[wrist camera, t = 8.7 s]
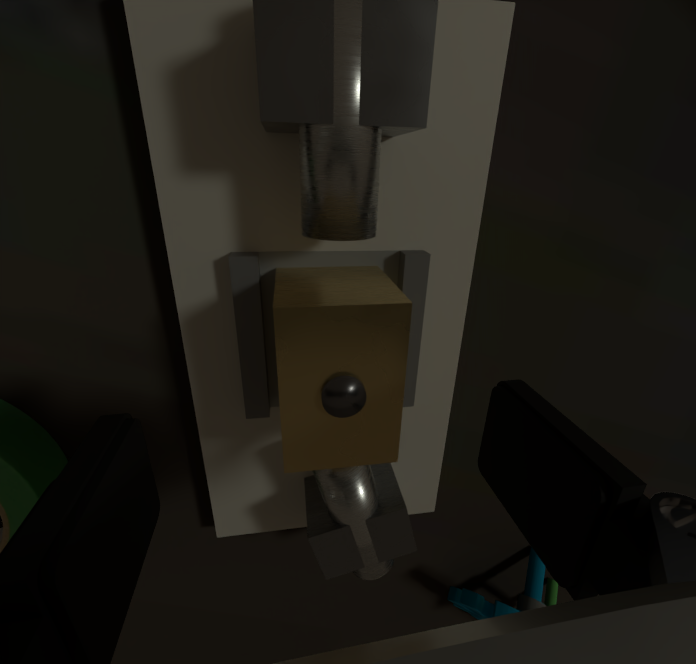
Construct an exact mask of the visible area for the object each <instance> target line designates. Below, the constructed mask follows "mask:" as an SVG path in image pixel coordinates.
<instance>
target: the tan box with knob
mask: <svg viewBox="0 0 696 664" xmlns="http://www.w3.org/2000/svg"><path fill="white" fill-rule="evenodd" d="M411 313H412V302H411V301H410V300H409V299H408V298H407V297H406V295H405V294H404V293H403V292H402V291H401V290H400V289H399V288H398V287H397V286H396V285H395V284H394V283H393V282H392V281H391V279H390V278H389V277H388V276H387V275H386V274H385V273H384V272H383V271H382V270H381V269H380V268H379V267H378V266H340V267H290V268H276V277H275V289H274V301H273V316H274V331H275V346H276V361H277V375H278V390H279V405H280V419H281V434H282V449H283V464H284V473H293V472H303V471H313V470H323V469H333V468H342V467H352V466H362V465H372V464H382V463H392V462H398V453H399V443H400V432H401V421H402V410H403V400H404V389H405V378H406V367H407V356H408V346H409V335H410V324H411Z"/></svg>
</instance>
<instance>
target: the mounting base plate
mask: <svg viewBox="0 0 696 664" xmlns="http://www.w3.org/2000/svg"><path fill="white" fill-rule="evenodd" d="M123 2H124V8H125V14H126V19H127V25H128V31H129V37H130V42H131V48H132V54H133V59H134V65H135V71H136V77H137V82H138V88H139V94H140V99H141V105H142V111H143V117H144V122H145V128H146V134H147V139H148V145H149V151H150V157H151V162H152V168H153V174H154V180H155V185H156V191H157V197H158V202H159V208H160V214H161V220H162V225H163V231H164V237H165V242H166V248H167V254H168V260H169V265H170V271H171V277H172V282H173V288H174V294H175V300H176V305H177V311H178V317H179V322H180V328H181V334H182V340H183V345H184V351H185V357H186V363H187V368H188V374H189V380H190V385H191V391H192V397H193V403H194V408H195V414H196V420H197V425H198V431H199V437H200V443H201V448H202V454H203V460H204V465H205V471H206V477H207V483H208V488H209V494H210V500H211V505H212V511H213V517H214V523H215V528H216V534H217V537H225V536H234V535H242V534H250V533H259V532H267V531H275V530H284V529H292V528H300V527H307V517H306V501H305V485H304V478H305V477H309V476H312V475H314V474H313V471H303V472H293V473H284V464H283V449H282V434H281V419H280V405H279V390H278V375H277V361H276V346H275V331H274V316H273V301H274V289H275V277H276V268H290V267H340V266H378V267H379V268H380V269H381V270H382V271H383V272H384V273H385V274H386V275H387V276H388V277H389V278H390V279H391V281H392V282H393V283H394V284H395V285H396V286H397V287H398V288H399V289H400V290H401V291H402V292H403V293H404V294H405V295H406V297H407V298H408V299H409V300H410V301H411V302H412V313H411V324H410V335H409V346H408V356H407V367H406V378H405V389H404V400H403V410H402V421H401V432H400V443H399V453H398V462H392V463H391V465H392V468H393V471H394V474H395V477H396V480H397V482H398V485H399V488H400V491H401V494H402V496H403V499H404V502H405V505H406V508H407V511H408V514H417V513H425V512H433V511H434V509H435V503H436V497H437V490H438V484H439V478H440V472H441V465H442V459H443V453H444V446H445V440H446V434H447V428H448V421H449V415H450V409H451V403H452V396H453V390H454V384H455V378H456V371H457V365H458V359H459V352H460V346H461V340H462V334H463V327H464V321H465V315H466V309H467V302H468V296H469V290H470V284H471V277H472V271H473V265H474V258H475V252H476V246H477V240H478V233H479V227H480V221H481V215H482V208H483V202H484V196H485V190H486V183H487V177H488V171H489V164H490V158H491V152H492V146H493V139H494V133H495V127H496V121H497V114H498V108H499V102H500V96H501V89H502V83H503V77H504V70H505V64H506V58H507V52H508V45H509V39H510V33H511V27H512V20H513V14H514V8H515V3H514V2H504V1H493V0H438V10H437V21H436V32H435V42H434V53H433V64H432V74H431V85H430V96H429V106H428V117H427V128H425V129H421V130H417V131H414V132H410V133H406V134H403V135H399V136H395V137H381V154H380V174H379V193H378V213H377V232H376V237H374V238H371V239H367V240H358V241H328V240H318V239H311V238H307V237H304V236H303V235H302V228H301V193H300V157H299V134H298V133H270V132H266V131H265V129H264V127H263V125H262V123H261V121H260V107H259V92H258V76H257V61H256V45H255V30H254V14H253V0H123Z"/></svg>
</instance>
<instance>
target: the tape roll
mask: <svg viewBox="0 0 696 664" xmlns="http://www.w3.org/2000/svg"><path fill="white" fill-rule="evenodd" d="M67 463H68V460H67V458H66V456H65V454H64V453H63V451H62V450H61V448H60V447H59V445H58V444H57V443H56V441H55V440H54V439H53V438H52V437H51V435H50V434H49V433H48V432H47V431H46V430H45V429H44V428H43V427H42V426H40V425H39V424H38V423H37V422H36V421H35V420H33V419H32V418H31V417H29V416H28V415H27V414H25V413H24V412H22V411H21V410H19V409H18V408H16V407H14V406H13V405H11V404H9V403H8V402H6V401H4V400H2V399H0V516H1V518H2V522H3V527H2V528H0V553H1V552H2V550H3V549H4V547H5V546H6V545H7V543H8V542H9V540H10V539H11V537H12V536H13V535H14V533H15V532H16V530H17V529H18V528H19V526H20V525H21V523H22V522H23V521H24V519H25V518H26V516H27V515H28V514H29V512H30V511H31V509H32V508H33V506H34V505H35V504H36V502H37V501H38V499H39V498H40V497H41V495H42V494H43V492H44V491H45V490H46V488H47V487H48V486H49V484H50V483H51V482H52V481H53V480H55V479H57V477H58V476H59V474H60V473H61V471H62V470H63V469H64V467H65V466H66V464H67Z"/></svg>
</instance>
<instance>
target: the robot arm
mask: <svg viewBox="0 0 696 664" xmlns="http://www.w3.org/2000/svg"><path fill="white" fill-rule="evenodd" d="M478 467H479V470H480V472H481V474H482V476H483V477H484V478H485V480H486V481H487V483H488V484H489V486H490V487H491V489H492V490H493V491H494V493H495V494H496V496H497V497H498V499H499V500H500V502H501V503H502V504H503V506H504V507H505V509H506V510H507V512H508V513H509V515H510V516H511V518H512V519H513V520H514V522H515V523H516V525H517V526H518V528H519V529H520V531H521V532H522V533H523V535H524V536H525V538H526V539H527V541H528V542H529V544H530V545H531V546H532V548H533V549H534V551H535V552H536V554H537V555H538V557H539V558H540V559H541V561H542V562H543V564H544V565H545V567H546V568H547V570H548V571H549V572H550V574H551V575H552V577H553V578H554V580H555V581H556V582H557V583H558V585H560V586H561V587H563V588H566V589H567V591H568V592H569V594H570V595H571V597H572V598H573V599H574V601H570V602H565V603H561V604H556V605H551V606H546V607H541V608H536V609H531V610H526V611H521V612H516V613H511V614H506V615H501V616H496V617H492V618H487V619H482V620H477V621H472V622H467V623H463V624H458V625H453V626H448V627H443V628H439V629H434V630H429V631H424V632H419V633H415V634H410V635H405V636H400V637H396V638H391V639H386V640H381V641H377V642H372V643H367V644H362V645H358V646H353V647H348V648H343V649H339V650H334V651H329V652H325V653H320V654H315V655H311V656H306V657H301V658H297V659H292V660H287V661H283V662H278V663H274V664H696V499H694V498H691V497H689V496H686V495H682V494H678V493H674V492H660V493H656V494H654V495H653V496H652V497H651V499H648V498H647V497H646V496H645V495H644V494H643V492H644V490H645V487H646V485H647V484H646V483H644V482H643V481H642V480H641V479H640V478H638V477H637V476H636V475H635V474H634V473H632V472H631V471H630V470H629V469H628V468H626V467H625V466H624V465H623V464H622V463H620V462H619V461H618V460H617V459H616V458H615V457H613V456H612V455H611V454H610V453H609V452H607V451H606V450H605V449H604V448H603V447H601V446H600V445H599V444H598V443H597V442H595V441H594V440H593V439H592V438H591V437H589V436H588V435H587V434H586V433H585V432H583V431H582V430H581V429H580V428H579V427H577V426H576V425H575V424H574V423H573V422H571V421H570V420H569V419H568V418H567V417H566V416H564V415H563V414H562V413H561V412H560V411H558V410H557V409H556V408H555V407H554V406H552V405H551V404H550V403H549V402H548V401H546V400H545V399H544V398H543V397H542V396H540V395H539V394H538V393H537V392H536V391H534V390H533V389H532V388H531V387H530V386H528V385H527V384H526V383H525V382H524V381H522V380H508V381H501V382H499V383H498V384H497V387H494V388H493V389H492V393H491V397H490V402H489V407H488V412H487V417H486V422H485V427H484V432H483V437H482V442H481V447H480V452H479V457H478ZM159 511H160V501H159V496H158V492H157V488H156V484H155V480H154V476H153V472H152V468H151V463H150V459H149V455H148V451H147V447H146V443H145V439H144V435H143V431H142V427H141V423H140V421H139V419H132V417H131V415H130V414H128V413H127V414H115V415H104V416H101V417H100V418H99V419H98V420H97V421H96V423H95V424H94V426H93V427H92V429H91V430H90V431H89V433H88V434H87V436H86V437H85V439H84V440H83V441H82V443H81V444H80V446H79V447H78V449H77V450H76V451H75V453H74V454H73V456H72V457H71V459H70V460H69V461H68V463H67V464H66V466H65V467H64V469H63V470H62V471H61V473H60V474H59V476H58V477H57V479H55V480H53V481H52V482H51V483H50V484H49V486H48V487H47V488H46V490H45V491H44V492H43V494H42V495H41V497H40V498H39V499H38V501H37V502H36V504H35V505H34V506H33V508H32V509H31V511H30V512H29V514H28V515H27V516H26V518H25V519H24V521H23V522H22V523H21V525H20V526H19V528H18V529H17V530H16V532H15V533H14V535H13V536H12V537H11V539H10V540H9V542H8V543H7V545H6V546H5V547H4V549H3V550H2V552H1V553H0V664H110V663H111V660H112V657H113V654H114V651H115V648H116V645H117V642H118V639H119V635H120V632H121V629H122V626H123V623H124V620H125V617H126V614H127V611H128V608H129V605H130V602H131V599H132V596H133V593H134V590H135V587H136V584H137V581H138V577H139V574H140V571H141V568H142V565H143V562H144V559H145V556H146V553H147V550H148V547H149V544H150V541H151V538H152V535H153V532H154V529H155V526H156V523H157V520H158V516H159ZM598 594H599V595H600V596H597V595H598Z"/></svg>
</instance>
